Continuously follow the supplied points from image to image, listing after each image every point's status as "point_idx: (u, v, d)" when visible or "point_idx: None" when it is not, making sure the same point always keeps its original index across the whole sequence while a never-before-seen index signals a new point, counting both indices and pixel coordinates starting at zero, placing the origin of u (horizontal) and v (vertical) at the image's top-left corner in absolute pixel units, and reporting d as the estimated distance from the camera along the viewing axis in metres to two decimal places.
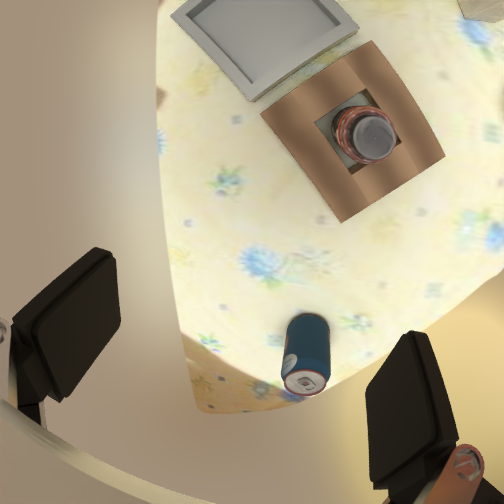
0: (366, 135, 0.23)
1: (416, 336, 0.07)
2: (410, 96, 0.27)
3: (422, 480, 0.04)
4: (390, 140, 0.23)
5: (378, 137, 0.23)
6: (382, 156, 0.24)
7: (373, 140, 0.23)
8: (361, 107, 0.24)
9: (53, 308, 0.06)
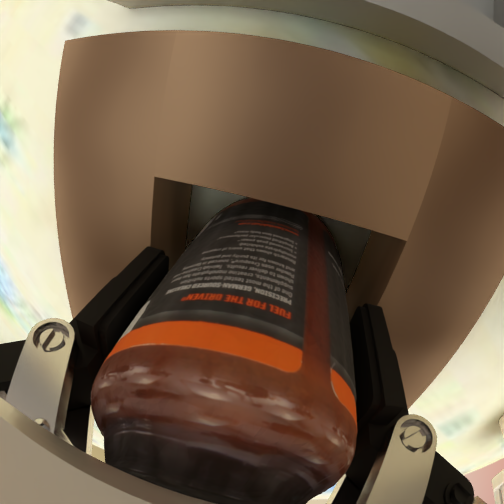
0: None
1: (369, 308, 0.08)
2: (453, 349, 0.09)
3: (368, 449, 0.05)
4: None
5: None
6: None
7: None
8: (295, 411, 0.04)
9: (118, 307, 0.07)
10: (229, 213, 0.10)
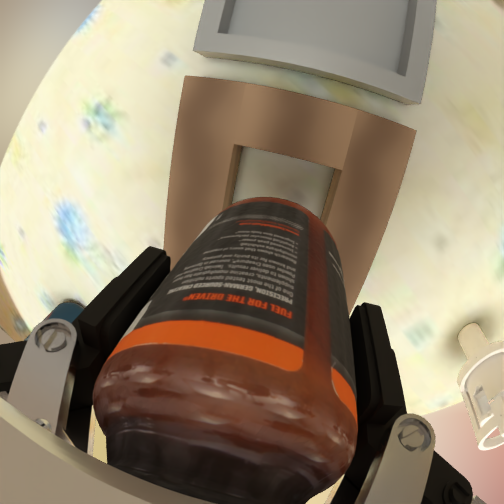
0: None
1: (367, 307, 0.08)
2: (381, 232, 0.20)
3: (366, 448, 0.05)
4: None
5: None
6: None
7: None
8: (297, 410, 0.04)
9: (120, 307, 0.07)
10: (230, 213, 0.10)
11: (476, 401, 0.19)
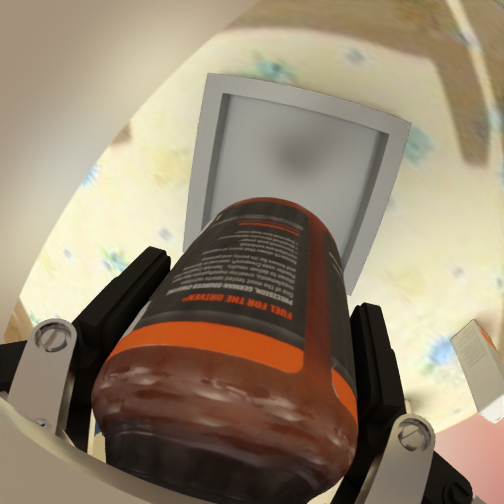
0: None
1: (367, 307, 0.08)
2: None
3: (366, 448, 0.05)
4: None
5: None
6: None
7: None
8: (297, 412, 0.04)
9: (120, 307, 0.07)
10: (230, 213, 0.10)
11: None
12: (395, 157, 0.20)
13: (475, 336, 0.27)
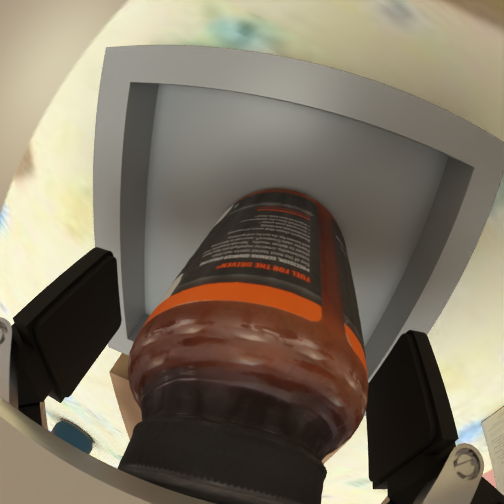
0: None
1: (415, 335, 0.07)
2: None
3: (421, 479, 0.04)
4: None
5: None
6: None
7: None
8: (320, 352, 0.05)
9: (54, 308, 0.06)
10: (246, 202, 0.11)
11: None
12: (478, 214, 0.09)
13: None
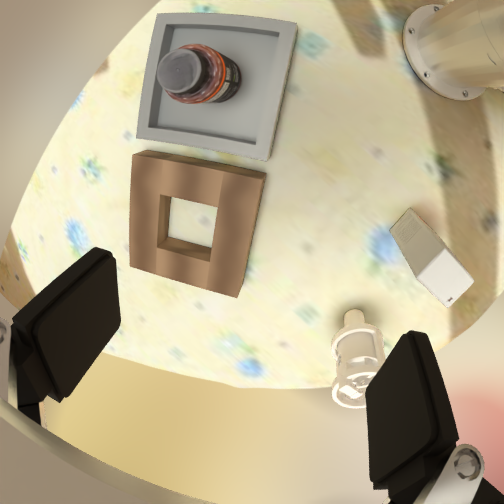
0: (173, 63, 0.20)
1: (416, 336, 0.07)
2: (247, 242, 0.36)
3: (422, 480, 0.04)
4: (188, 82, 0.21)
5: (180, 72, 0.20)
6: (170, 90, 0.21)
7: (174, 71, 0.20)
8: (205, 46, 0.21)
9: (53, 308, 0.06)
10: None
11: None
12: (286, 47, 0.25)
13: (410, 218, 0.31)
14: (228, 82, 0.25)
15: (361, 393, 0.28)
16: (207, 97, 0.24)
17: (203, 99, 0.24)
